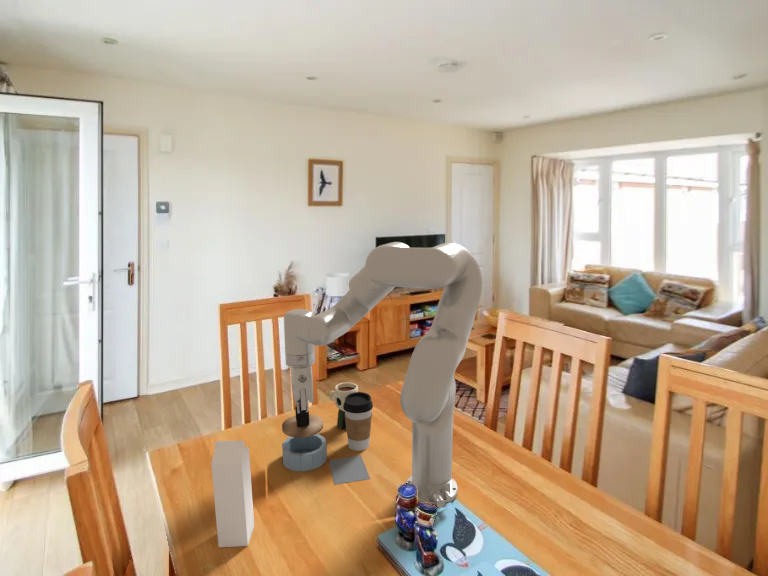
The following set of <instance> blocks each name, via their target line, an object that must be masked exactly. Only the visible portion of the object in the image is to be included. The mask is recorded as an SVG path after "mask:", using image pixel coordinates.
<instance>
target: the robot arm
mask: <svg viewBox="0 0 768 576" xmlns="http://www.w3.org/2000/svg"><path fill="white" fill-rule="evenodd" d="M395 288H404V289H405V288H406V289H422V290H441V289H443V290H442V292H441V296H440V297H439V301H438V304H437V307H436V312H435V315H434V318H433V320H432V324H431V326H430V328H429V330H428V331H427V332H426V333H425V334H424V335H423V336H422V337H421V338H420V339H419V341H418V342H417V343H416V345H415V347H414V349H413V352H412V354H411V358H410V360H409V363H408V367H407V371H406V374H405V377H404V380H403V383H402V388H401V391H400V399H399V403H400V407H401V410H402V412H403V413H404V416H406V417H407V418H408V420H410V421H412V422H411V423H412V425H411V427H412V428H411V429H412V431H411V433H412V434H411V441H412V442H411V475H410V476H408V478H407V479H406V481H405V484H406V483H412V484H414V485H416V486H417V489H418V501H417V502H418V503H420V502H428V503H431V504H434V505H433V506H436V507H437V508H439V509H442V508H443V507H444V506H445V505H446V504H447V503H449V502H452V501H454V500H455V499H456V497H457V496H458V491H459V487H458V484H457V482H456V480H455V479H454V478H453V477H452V476H453V475H452V470H453V467H452V466H453V433H454V431H453V430H454V413H455V412H454V411H455V403H456V402H455V401H456V395H457V394H456V390H457V389H456V388H457V387H456V385H457V383H456V379H455V377H454V376H455V372H456V370H457V369H458V366H459V364H460V363H461V362H462V360H463V358H464V356H465V355H466V353H465V352H466V350H467V349H466V348H467V346H468V342H469V338H470V335H471V332H472V329H473V326H474V322H475V319H476V315H477V312H478V308H479V304H480V302H481V297H482V291H483V275H482V272H481V268H480V265H479V263H478V261H477V259H476V257H474V255H473V253H472V252H470V251H469V250H468V249H467V248H466V247H465V246H462V245H461V244H458V243H455V242H444V243H440V244H437V245H435V246H433V247H410V246H409V245H408V244H406V243H404V242H401V241H393V242H392V241H391V242H387V243H384V244H380V245H378V246H377V247H374V248H373V249H372V250H371V251H370V252H369V253H368V255H367V257H366V259H365V264H364V266H363V267H362V268H361V269H360V270H359V271H358V272H357V273H356V274H355V275H354V276H353V277H351V278H350V280H349V282H348V289H349V290H348V291H347V293H346V294H344V295H343V297H341V298H340V300H338V301H337V303H335V304H334V305H333V306H332V307H331V308H329V309H326V310H324V311H321V312H320V313H317V314H313V312H312V311H311V310H309V309H305V308H304V309H303V308H295V309H290V310H288V311H286V312H285V313H284V316H283V328H284V329H283V330H284V331H283V333H284V354H285V355H284V357H285V365H286V366H287V367H289V368H290V381H291V389H292V397H293V400H294V404H295V406H294V408H295V416H296V421H297V427H304V426H309V415H310V411H309V404H310V403H311V404H312V403H314V402H315V401H314V400H315V397H314V382H313V381H314V380H313V367H312V366H313V365H315V362H316V354H315V353H316V350H315V349H316V347H315V346H318V347H323V346H327V345H329V344H330V343H332V342H334V341H335V340H337V339H339V337H342V336H344V335H345V334H346V333H347V332H349V331H350V330H351V329H352V328H353V327H354V326H355V325H357V323H358V322H360V321H361V320H362V319H363V318H365V316H366V315H367V314H368V313H369V312H370V311H371V310H373V309H374V308H375V306H377V305H378V304H379V303H380V302H381V301H382V300H383V299H384V298H385V297H386V296H387V295H388V294H390V292H392V291H393V290H394V289H395ZM299 405H301V406H300V407H299Z"/></svg>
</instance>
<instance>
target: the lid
mask: <svg viewBox="0 0 768 576" xmlns="http://www.w3.org/2000/svg"><path fill="white" fill-rule="evenodd" d="M300 406H301V405H299V407H300ZM323 428H324V420H323V419H322V418H321V417H320V416H318V415H314V414H309V426H304V427H297V421H296V415H293V416H290V417H288V418H287V419H284V421H283V422H282V424H281V431H282V433H283V434H284V435H286V436H287V437H296V438H303V437H309V436H313V435H315V434H319V433H320V432H322V430H323Z"/></svg>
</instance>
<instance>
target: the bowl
mask: <svg viewBox="0 0 768 576" xmlns="http://www.w3.org/2000/svg"><path fill="white" fill-rule="evenodd" d="M281 448H282V449H281V450H282V453H281V454H282V462H283V463H282V465H283V466H284V467H285V469H286V468H287V469H288V470H290V471H294V472H308V471H313V470H315V469H318V468H320V467H322V465H324V464H325V463H326V462H327V458H328V446H327V440H326V437H325V436H323V435H321V434H319V433H317V434H315V435H313V436H309V437H303V438H296V437H290V436H288V437H287V438H286V439H285V440H284V441H283V442H282V443H281Z"/></svg>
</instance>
